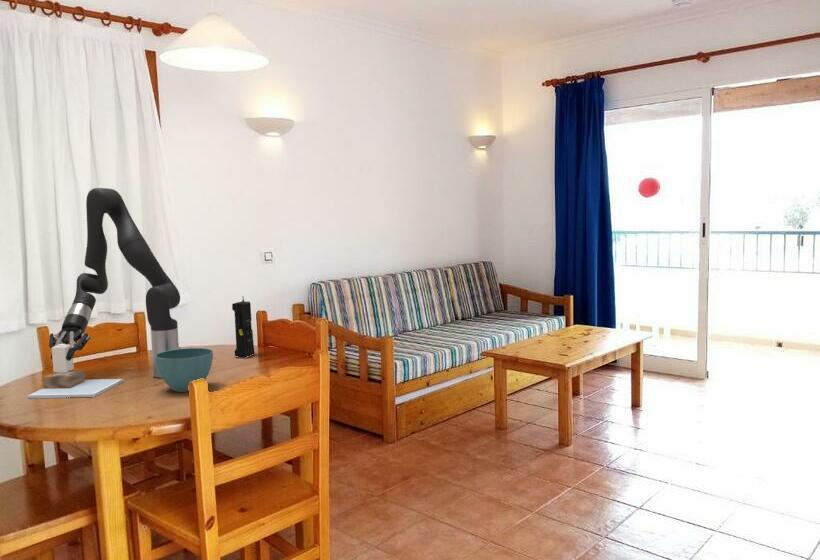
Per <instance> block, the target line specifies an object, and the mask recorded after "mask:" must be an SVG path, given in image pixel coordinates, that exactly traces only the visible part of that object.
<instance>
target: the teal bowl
mask: <svg viewBox="0 0 820 560" xmlns="http://www.w3.org/2000/svg"><path fill="white" fill-rule="evenodd" d="M155 358H156V363H157V367H158V370H159V372H160V374H161V376H162V380H163V381H164V382H165V384H166V385H167V387H169V388H170V389H171V390H172V391H173V392H176V393H177V392H178V393H187V392H188V393H189V391H188V385H189V382H190V381H193V380H197V379H200V378H204V379H205V380H206V379H207V377H208V376H209V374H210V371H211V367H212V364H213V360H214V359H213V358H214V350H213V349H210V348H205V347H189V348H188V347H187V348H181V349H176V350H169V351H165V352H161V353H158V354H156V355H155Z"/></svg>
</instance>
